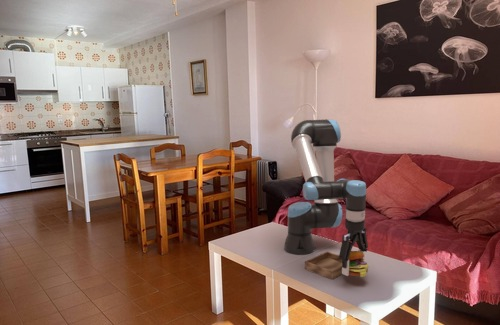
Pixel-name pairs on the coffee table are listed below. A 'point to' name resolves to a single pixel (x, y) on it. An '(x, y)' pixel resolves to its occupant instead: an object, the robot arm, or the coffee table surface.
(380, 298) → the coffee table surface
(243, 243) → the coffee table surface
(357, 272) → the cheeseburger
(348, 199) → the robot arm
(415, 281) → the coffee table surface
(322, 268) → the crate
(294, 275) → the coffee table surface
